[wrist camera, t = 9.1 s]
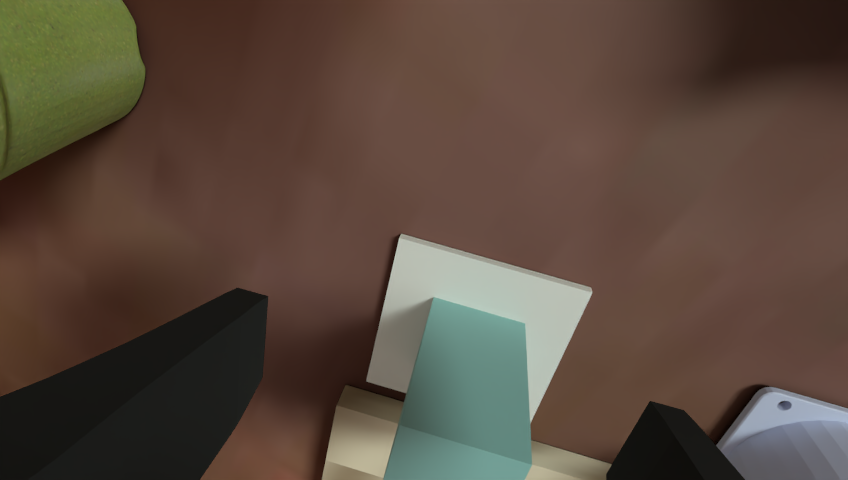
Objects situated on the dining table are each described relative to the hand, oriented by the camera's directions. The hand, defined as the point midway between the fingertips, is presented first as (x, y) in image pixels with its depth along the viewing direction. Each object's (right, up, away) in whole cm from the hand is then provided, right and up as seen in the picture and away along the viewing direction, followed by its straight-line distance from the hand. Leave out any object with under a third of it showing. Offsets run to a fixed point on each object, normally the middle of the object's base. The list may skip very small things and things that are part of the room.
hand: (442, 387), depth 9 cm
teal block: (+2, -2, +12) cm, 12 cm away
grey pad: (+2, -1, +12) cm, 12 cm away
